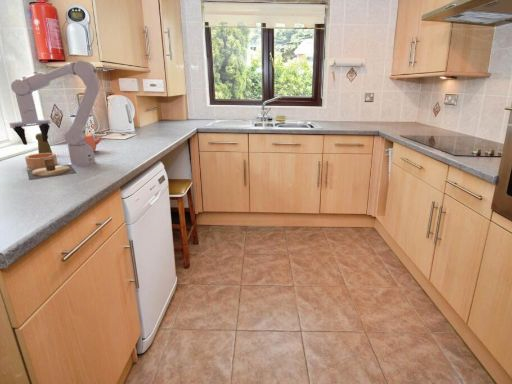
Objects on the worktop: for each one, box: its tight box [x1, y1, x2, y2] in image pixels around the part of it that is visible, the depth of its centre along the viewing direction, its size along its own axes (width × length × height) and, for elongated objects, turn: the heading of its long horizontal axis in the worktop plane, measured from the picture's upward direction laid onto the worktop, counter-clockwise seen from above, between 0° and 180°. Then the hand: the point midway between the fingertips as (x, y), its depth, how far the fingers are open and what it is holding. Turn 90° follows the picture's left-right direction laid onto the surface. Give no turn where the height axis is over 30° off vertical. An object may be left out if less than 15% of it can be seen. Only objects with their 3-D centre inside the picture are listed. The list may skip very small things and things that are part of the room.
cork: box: [35, 132, 53, 154], centre depth 160 cm, size 6×6×11 cm
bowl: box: [24, 152, 58, 169], centre depth 142 cm, size 11×11×4 cm
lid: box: [32, 158, 70, 176], centre depth 132 cm, size 13×13×5 cm
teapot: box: [62, 133, 103, 152], centre depth 167 cm, size 14×12×10 cm
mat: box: [26, 164, 77, 181], centre depth 133 cm, size 16×17×1 cm
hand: (35, 143), depth 139 cm, fingers open, 7 cm apart
